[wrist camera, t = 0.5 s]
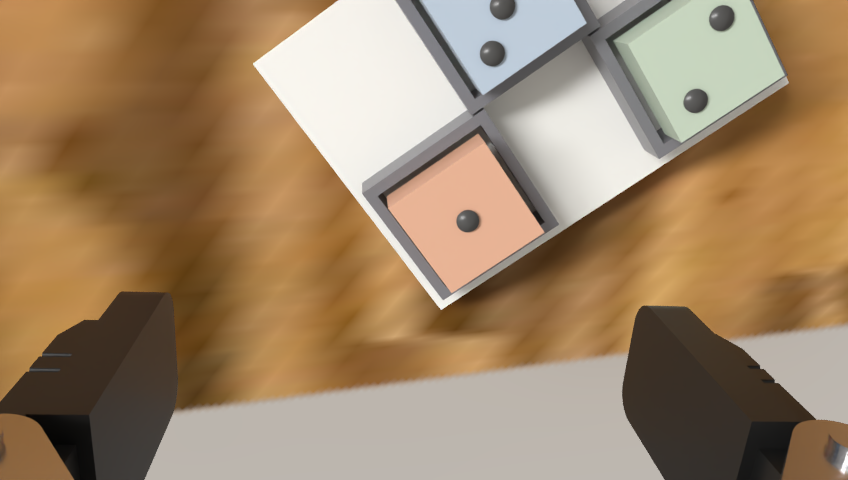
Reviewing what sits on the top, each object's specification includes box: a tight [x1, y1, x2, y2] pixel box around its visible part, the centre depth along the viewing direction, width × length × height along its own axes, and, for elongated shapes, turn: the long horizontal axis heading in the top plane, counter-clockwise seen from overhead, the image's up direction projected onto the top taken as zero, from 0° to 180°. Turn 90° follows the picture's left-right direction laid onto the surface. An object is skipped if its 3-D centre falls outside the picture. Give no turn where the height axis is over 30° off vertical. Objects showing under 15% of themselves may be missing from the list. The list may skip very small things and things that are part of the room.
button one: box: [387, 134, 545, 293], centre depth 31 cm, size 5×5×2 cm
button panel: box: [253, 0, 789, 310], centre depth 32 cm, size 20×15×4 cm
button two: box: [613, 0, 785, 143], centre depth 30 cm, size 5×5×2 cm
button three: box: [419, 0, 586, 95], centre depth 28 cm, size 5×5×2 cm
